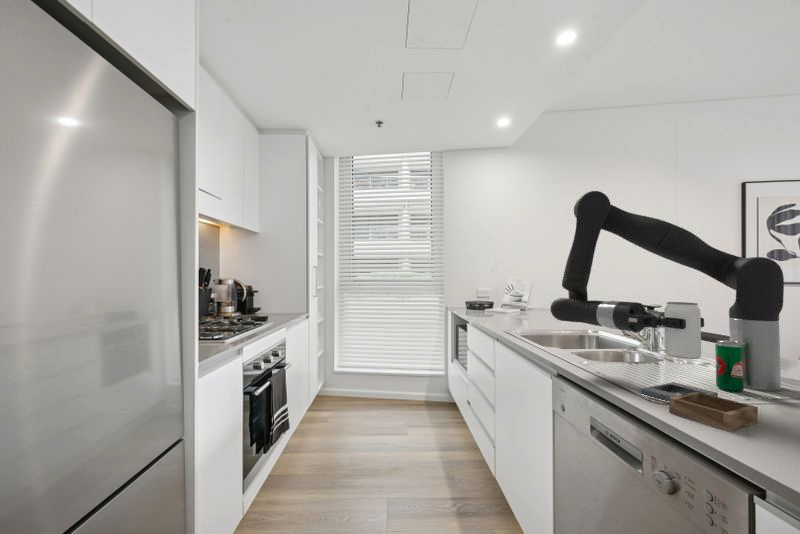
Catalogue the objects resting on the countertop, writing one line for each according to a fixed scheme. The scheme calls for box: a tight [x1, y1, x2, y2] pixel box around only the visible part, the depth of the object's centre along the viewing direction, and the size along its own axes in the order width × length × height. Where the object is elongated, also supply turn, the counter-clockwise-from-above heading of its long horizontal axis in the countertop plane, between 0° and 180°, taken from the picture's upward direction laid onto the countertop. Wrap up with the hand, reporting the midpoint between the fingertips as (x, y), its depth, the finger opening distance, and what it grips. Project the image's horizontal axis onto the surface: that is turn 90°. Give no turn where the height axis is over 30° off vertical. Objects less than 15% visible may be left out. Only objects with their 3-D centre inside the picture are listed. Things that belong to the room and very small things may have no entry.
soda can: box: [714, 339, 745, 393], centre depth 89 cm, size 5×5×12 cm
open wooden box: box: [668, 392, 759, 432], centre depth 70 cm, size 10×10×3 cm
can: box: [663, 301, 702, 360], centre depth 80 cm, size 6×6×12 cm
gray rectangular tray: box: [640, 381, 719, 401], centre depth 82 cm, size 13×9×2 cm
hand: (694, 323), depth 78 cm, fingers closed on can, 6 cm apart
